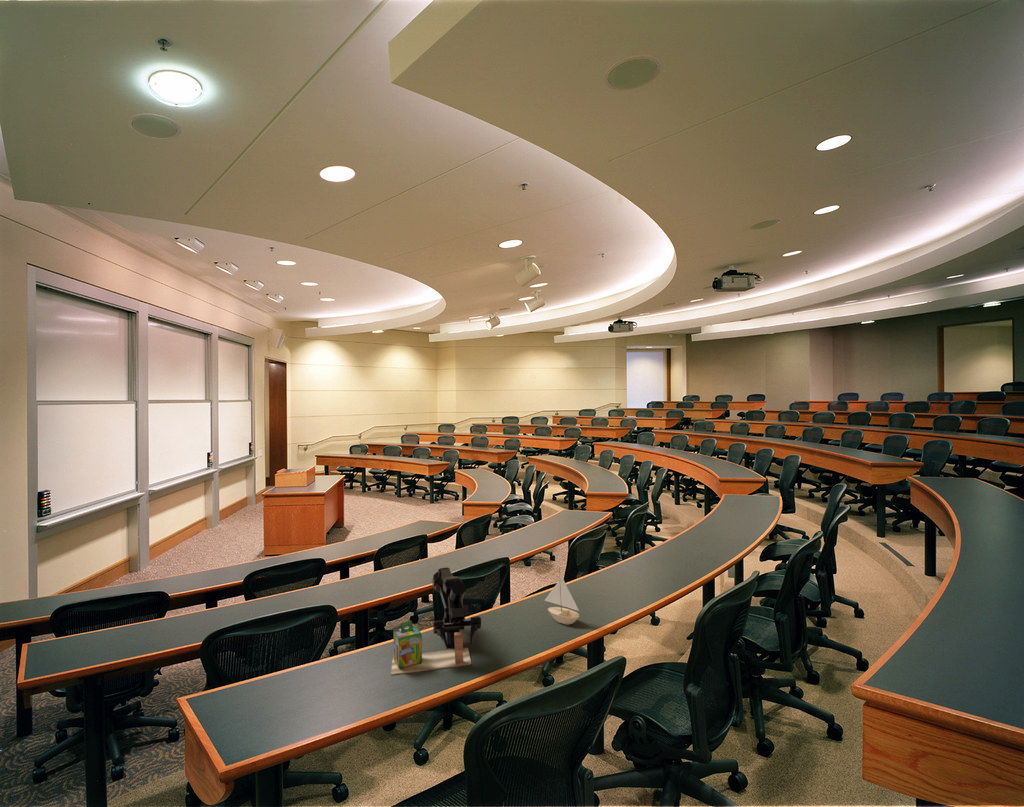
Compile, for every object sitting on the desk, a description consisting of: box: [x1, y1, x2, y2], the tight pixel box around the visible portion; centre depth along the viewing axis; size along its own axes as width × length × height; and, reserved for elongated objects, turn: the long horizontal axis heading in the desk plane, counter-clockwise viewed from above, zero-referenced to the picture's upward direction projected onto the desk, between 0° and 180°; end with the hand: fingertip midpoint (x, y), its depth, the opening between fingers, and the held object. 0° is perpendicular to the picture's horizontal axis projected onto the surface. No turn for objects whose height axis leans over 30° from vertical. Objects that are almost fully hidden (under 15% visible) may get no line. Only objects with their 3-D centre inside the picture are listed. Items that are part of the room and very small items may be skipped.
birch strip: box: [390, 631, 472, 676], centre depth 188 cm, size 14×30×12 cm, turn 101°
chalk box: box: [392, 620, 423, 669], centre depth 188 cm, size 9×9×15 cm
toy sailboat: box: [544, 566, 580, 626], centre depth 223 cm, size 21×25×9 cm
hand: (458, 647), depth 184 cm, fingers open, 9 cm apart
